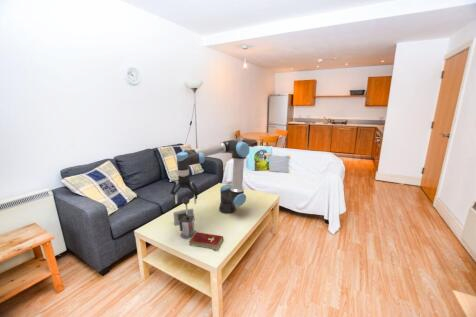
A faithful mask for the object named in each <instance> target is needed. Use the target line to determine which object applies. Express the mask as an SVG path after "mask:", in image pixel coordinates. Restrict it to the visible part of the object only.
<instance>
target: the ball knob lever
mask: <svg viewBox="0 0 476 317" xmlns="http://www.w3.org/2000/svg"><path fill="white" fill-rule="evenodd" d="M189 203H190V198H189V197H187V196H185V197H183V198H182V204H184V205H185V210H186V217H187V219H188V209H189V208H188V205H189Z"/></svg>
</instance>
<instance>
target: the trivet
mask: <svg viewBox="0 0 476 317" xmlns="http://www.w3.org/2000/svg"><path fill="white" fill-rule="evenodd" d="M196 232H197V231H196V229H194V234H195V233H196ZM192 237H193V236H192ZM192 237H184V236H183V231H181V233H180V238H182V239H184V240H190V239H191V238H192Z"/></svg>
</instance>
